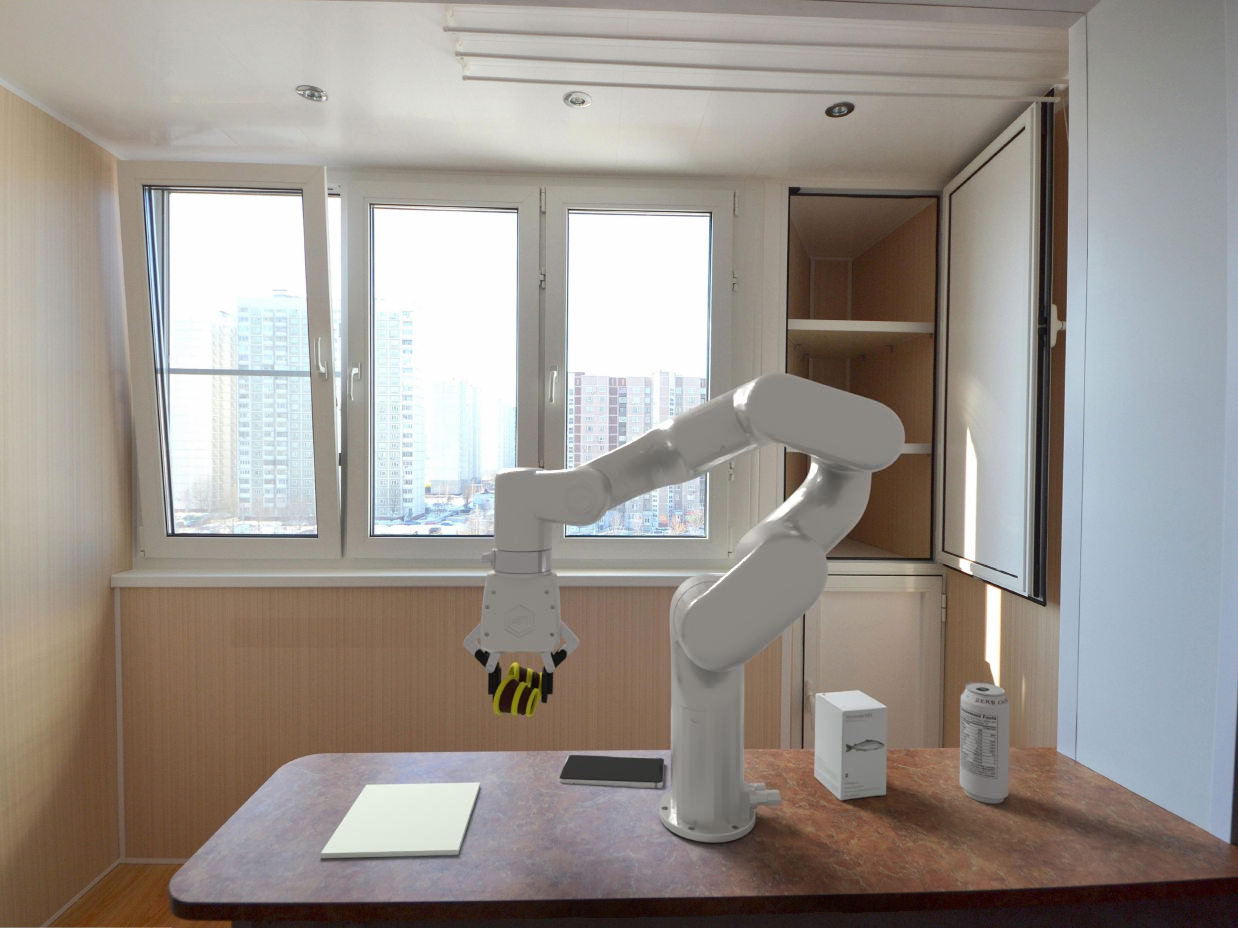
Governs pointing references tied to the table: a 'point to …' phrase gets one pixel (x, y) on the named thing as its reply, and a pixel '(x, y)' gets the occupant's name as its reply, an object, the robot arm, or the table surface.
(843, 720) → the supplement box
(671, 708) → the robot arm
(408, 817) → the mat
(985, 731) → the energy drink can
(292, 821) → the table surface
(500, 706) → the opera glasses
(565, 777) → the smartphone
